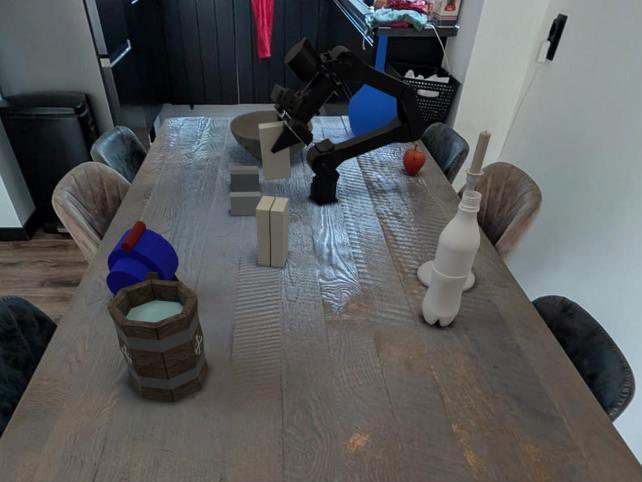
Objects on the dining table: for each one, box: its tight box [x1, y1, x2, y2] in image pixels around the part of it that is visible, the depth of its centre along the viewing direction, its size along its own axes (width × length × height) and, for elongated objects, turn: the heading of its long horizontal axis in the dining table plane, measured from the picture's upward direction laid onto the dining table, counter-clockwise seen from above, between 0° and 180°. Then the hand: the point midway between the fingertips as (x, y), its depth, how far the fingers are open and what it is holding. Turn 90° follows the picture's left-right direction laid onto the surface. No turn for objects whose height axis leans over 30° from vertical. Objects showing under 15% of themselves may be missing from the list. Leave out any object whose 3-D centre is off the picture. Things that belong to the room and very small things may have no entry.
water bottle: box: [421, 190, 483, 327], centre depth 88 cm, size 7×7×25 cm
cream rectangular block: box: [258, 121, 292, 182], centre depth 123 cm, size 7×3×13 cm, turn 99°
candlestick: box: [416, 129, 492, 293], centre depth 97 cm, size 13×13×30 cm
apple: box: [402, 142, 427, 176], centre depth 147 cm, size 8×7×10 cm
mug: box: [107, 272, 210, 402], centre depth 80 cm, size 20×14×15 cm
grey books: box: [229, 165, 262, 217], centre depth 133 cm, size 8×21×5 cm, turn 5°
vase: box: [347, 34, 397, 137], centre depth 161 cm, size 18×18×30 cm
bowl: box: [229, 110, 314, 160], centre depth 154 cm, size 26×26×10 cm
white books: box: [255, 195, 290, 268], centre depth 107 cm, size 7×6×13 cm
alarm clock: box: [105, 220, 181, 298], centre depth 94 cm, size 12×12×15 cm
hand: (270, 150), depth 122 cm, fingers closed on cream rectangular block, 3 cm apart
